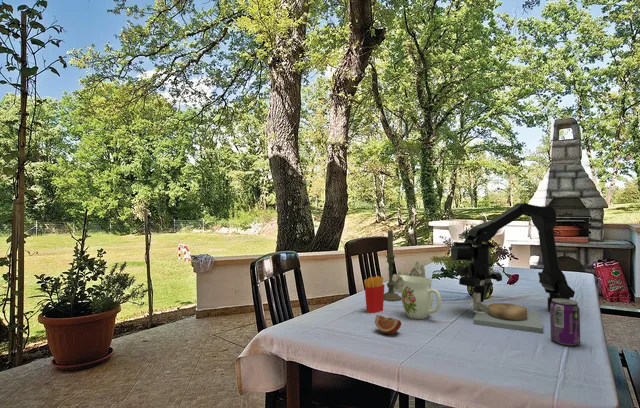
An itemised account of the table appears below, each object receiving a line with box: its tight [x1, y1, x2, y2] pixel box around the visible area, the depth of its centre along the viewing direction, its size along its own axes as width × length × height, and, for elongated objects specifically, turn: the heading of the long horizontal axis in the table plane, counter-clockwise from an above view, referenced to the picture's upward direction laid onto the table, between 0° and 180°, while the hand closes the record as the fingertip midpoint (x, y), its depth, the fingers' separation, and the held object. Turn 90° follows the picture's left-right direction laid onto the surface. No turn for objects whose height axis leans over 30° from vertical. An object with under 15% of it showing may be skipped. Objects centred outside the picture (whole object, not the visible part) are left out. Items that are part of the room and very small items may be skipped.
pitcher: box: [399, 275, 442, 320], centre depth 130 cm, size 11×18×14 cm, turn 36°
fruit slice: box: [374, 314, 402, 335], centre depth 114 cm, size 8×7×5 cm
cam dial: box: [472, 291, 528, 320], centre depth 127 cm, size 17×12×6 cm
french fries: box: [363, 275, 385, 314], centre depth 138 cm, size 9×4×13 cm, turn 127°
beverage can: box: [549, 298, 581, 347], centre depth 104 cm, size 7×7×12 cm
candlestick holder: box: [384, 229, 402, 302], centre depth 157 cm, size 9×9×30 cm
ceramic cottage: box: [392, 260, 427, 294], centre depth 173 cm, size 16×16×15 cm
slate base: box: [472, 309, 544, 334], centre depth 126 cm, size 21×20×2 cm
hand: (481, 302), depth 134 cm, fingers closed
